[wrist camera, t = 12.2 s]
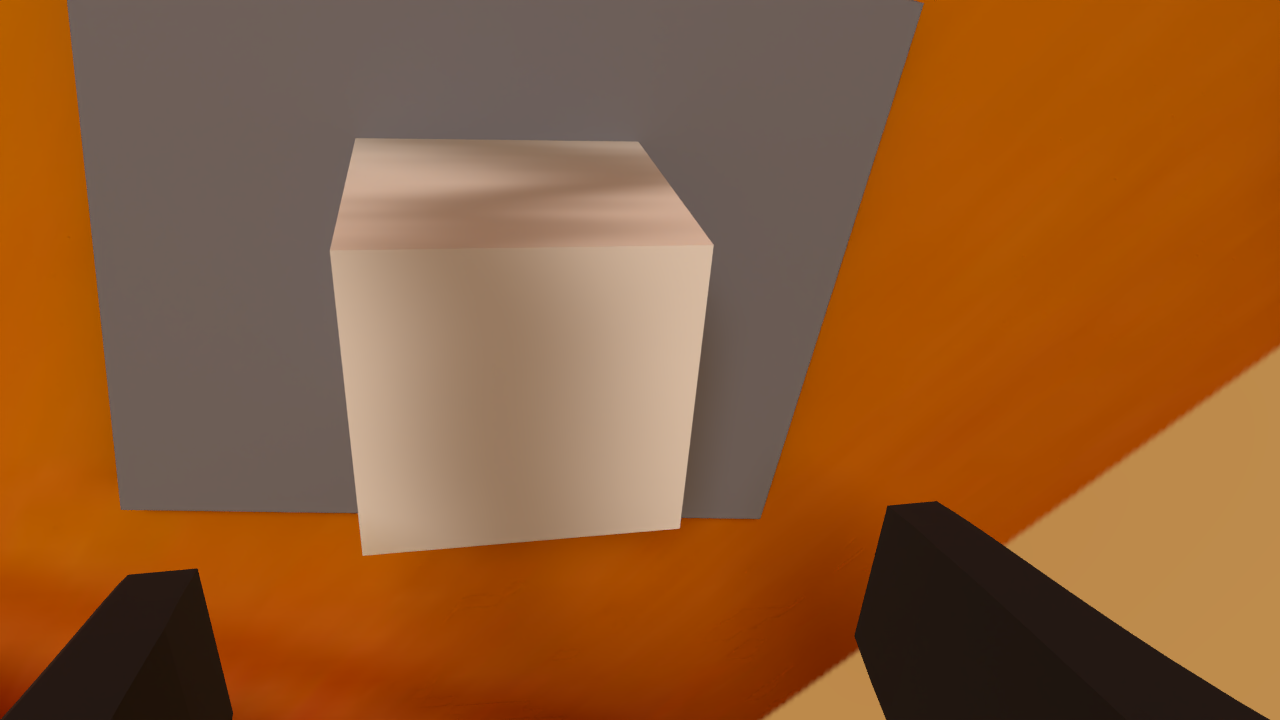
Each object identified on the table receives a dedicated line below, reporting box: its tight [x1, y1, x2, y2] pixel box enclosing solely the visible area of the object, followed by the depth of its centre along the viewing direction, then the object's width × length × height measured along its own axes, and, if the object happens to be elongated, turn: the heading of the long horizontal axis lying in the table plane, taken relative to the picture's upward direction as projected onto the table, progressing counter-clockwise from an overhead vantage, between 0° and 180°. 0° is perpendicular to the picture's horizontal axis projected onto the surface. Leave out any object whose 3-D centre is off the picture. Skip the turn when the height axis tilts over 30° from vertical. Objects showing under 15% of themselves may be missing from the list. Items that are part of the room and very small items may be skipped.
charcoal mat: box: [67, 0, 924, 519], centre depth 17 cm, size 14×12×1 cm
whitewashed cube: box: [330, 138, 714, 556], centre depth 15 cm, size 5×5×5 cm
